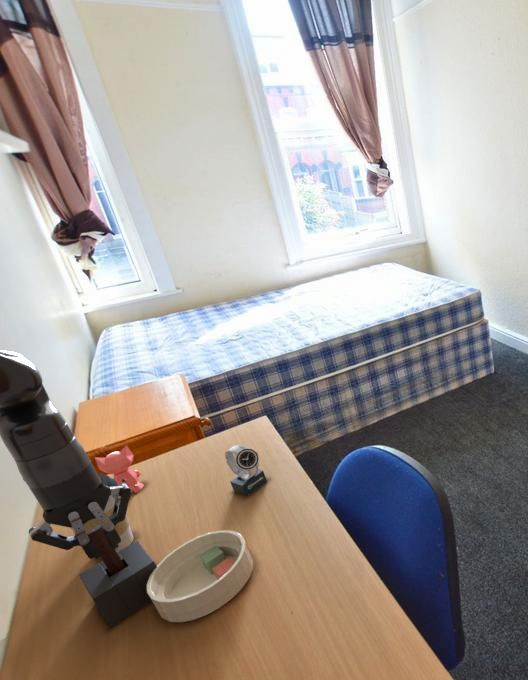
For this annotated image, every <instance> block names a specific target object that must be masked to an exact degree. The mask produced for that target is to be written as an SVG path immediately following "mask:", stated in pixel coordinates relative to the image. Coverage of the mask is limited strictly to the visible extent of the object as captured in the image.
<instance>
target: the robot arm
mask: <svg viewBox="0 0 528 680" xmlns="http://www.w3.org/2000/svg"><path fill="white" fill-rule="evenodd" d="M0 439H1V441H2V443H3V444H4V446H5V448H6V449H7V451H8V452H9V454H10V455H11V457H12V459H13V460H14V461H15V464H16V467H17V469H18V470H17V471H18V472H19V474H20V476H21V477H22V480H23V482H24V483H25V484H26V486H28V488H29V490H30V491H31V493H32V495H33V496H34V498H35V499H36V500H37V502H38V504H39V506H40V507H41V509H42V518H43V520H41V521H40V522H39V523H38V524H37V525H36V526H32V527H31V528H29V530H28V534H29V536H30V538H31V540H32V541H33V542H38V543H41V544H45V545H48V546H51V547H55V548H58V549H61V550H65V551H69V550H72V549H73V548H75V547H81V548H82V550H83V552H84V553H85V555H86V556H87V558H88V559H89V560H92V559H94V558H95V560H98V559H101V558H100V557H101V555H100V554H99V552H98V550H97V549H96V547H95V545H94V544H93V542H92V540H90V539H89V537H88V536H87V533H86V530H85V528H84V526H83V525H84V524H85V523H86V522H88V521H89V520H92V519H95V518H97V520H98V521H99V522H100V524H101V525H102V527H103V529H104V531H105V534H106V536H107V538H108V539H109V541H110V543H111V545H112V546H113V548H114V549H116V548H117V547H119V545H118V543H120V542H121V538H120V536H119V535H118V533H117V531H116V529H115V526H116V524H117V523H119V522H122V521H123V520H124V519H125V516H126V514H127V511H128V507H129V502H130V497H131V495H130V493H131V494H132V488H129V487H128V486H127V485H126V484H125V483H122V484H120V485H119V486H114V487H109V486H108V485H107V484H104V483H103V482H102V481H101V479H100V477H99V475H100V474H98V472H97V470H96V468H95V467H94V464H93V463H92V461H91V459H90V457H89V456H88V453H87V452H86V450H85V448H84V446H83V445H82V444H81V443H80V441H78V439H77V438H76V436H75V435H74V433H73V431H72V430H71V427H70V426H69V424H68V422H67V421H66V419H65V418H64V416H63V415H62V412H60V410H58V408H57V407H56V406H55V405H54V404H53V402H52V400H51V398H50V396H49V394H48V392H47V390H46V388H45V386H44V384H43V376H42V374H41V371H40V370H39V369H38V368H37V367H36V366H35V364H34V363H33V362H32V361H31V360H30V359H29V358H27V357H26V356H24V355H22V354H21V353H17V352H14V351H7V350H0ZM110 494H112V496H113V498H114V499H115V503H114V508H113V512H112V515H111V516H110V517H109V518H108V517H107V515H106V514H105V513H104V510H105V507H106V505H107V502H108V499H109V496H110ZM51 525H54V526H60V527H64V528H68V529H71V528H72V529H71V531H72V532H73V534H74V535H72V536H68V535H65V534H61V533H59V532H55V531H54V529H53V528H52V526H51Z"/></svg>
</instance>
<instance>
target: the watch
mask: <svg viewBox="0 0 528 680" xmlns="http://www.w3.org/2000/svg"><path fill="white" fill-rule="evenodd" d="M224 457H225V460H226V464H227V465H228V467H229V469H230V470H231V472H233V474H234V475H237V476H236V477H234V478H232V479H231V480H230V481H229V482H230V485H231V487H232V490H233V493H236V494H239V495H242V496H244V497H248V496H249V495H251V494H252V493H253V492H254V491H256V490H257V489H259V488H260V487H261V486H262V485H264V484H265V483H267V482H268V480H267V477H266V474H265V472H264V470H263V469H260V468H259V466H260V463H259V461H260V458H259V457H260V456H259V452H258V451H257V450H254V449H253V448H249V447H247V446H246V445H244V446H243V445H240V444H236V445H233V446H232V447H230V448H229V449H228V450H225V452H224Z"/></svg>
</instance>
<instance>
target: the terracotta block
mask: <svg viewBox="0 0 528 680" xmlns="http://www.w3.org/2000/svg"><path fill="white" fill-rule="evenodd" d="M233 565H234V562H233V561H232V560H231V559H230V558H227V559H226V560H224V561H223V562H221V563H220V564H218V565H217V566H215V567H214V568H212V570H213V572H214V574H215V576H216V579H217V580H218V579H220V578H221V577H222V576H223V575H224V574H225V573H226V572H227V571H228V570H229V569H230V568H231V567H232V566H233Z"/></svg>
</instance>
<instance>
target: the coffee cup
mask: <svg viewBox="0 0 528 680" xmlns="http://www.w3.org/2000/svg"><path fill="white" fill-rule="evenodd" d="M98 475H99V477H100V479H101V481H102V482H103V483H104V484H107V485H108V486H109V487H114V486H118V483H117V481H115V480H114V477H113V478H112V477H110V476H109V475H108V474H98ZM114 503H115V499H114V498H113V496H112V494H110V496H109V499H108V502H107V505H106V507H105V510H104V513H105V514H106V515H107V517H108V518H109V517H110V516H111V515H112V512H113V508H114ZM127 514H128V513H126V516H125V519H124V520H123V521H122V522H119V523H117V524H116V526H115V529H116V531H117V533H118V535H119V536H120V538H121V542H120V543H118V545H119V547H117V548H116V549H115V550H116V552H119V551H120V550H122V549H124V548H125V547H127V546H129V545H131V544H132V543H133V542H134V535H133V532H132V528H131V526H130V520H129V517H128V515H127ZM98 525H101V524H100V522H99V521H98V520H97V518H95V519H92V520H89V521H88V522H86V523H85V524H84V525H83V526H84V528H85V530H86V532H87V531H89V530H91V529H93V528H94V527H96V526H98ZM101 526H102V525H101ZM102 528H103V527H102ZM70 530H72V528H70ZM87 536H88V535H87ZM99 559H101V557H100V558H99Z"/></svg>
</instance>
